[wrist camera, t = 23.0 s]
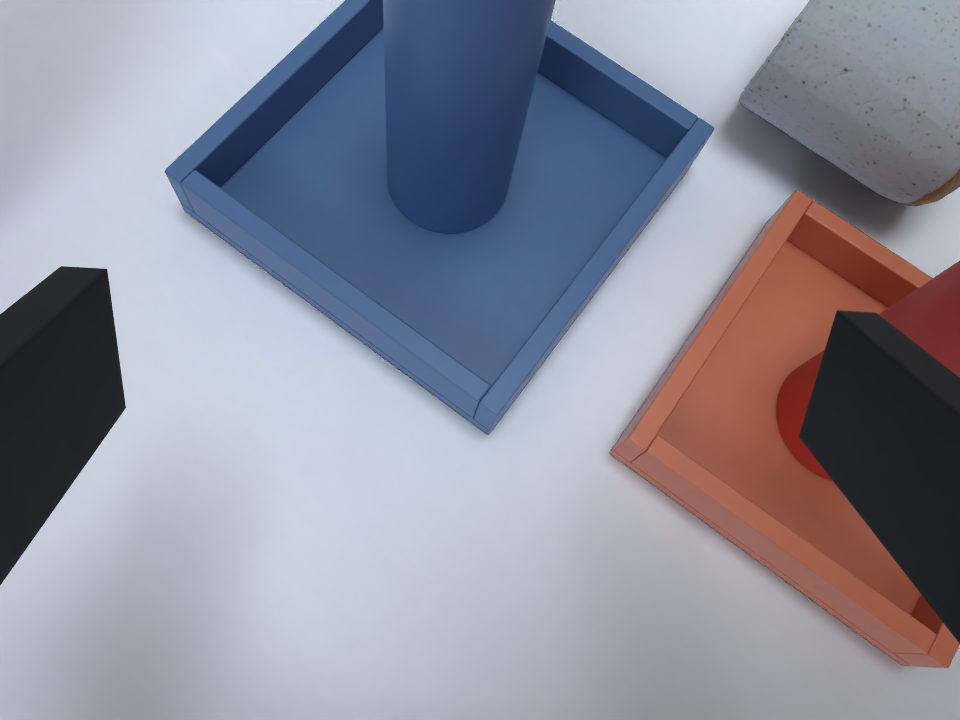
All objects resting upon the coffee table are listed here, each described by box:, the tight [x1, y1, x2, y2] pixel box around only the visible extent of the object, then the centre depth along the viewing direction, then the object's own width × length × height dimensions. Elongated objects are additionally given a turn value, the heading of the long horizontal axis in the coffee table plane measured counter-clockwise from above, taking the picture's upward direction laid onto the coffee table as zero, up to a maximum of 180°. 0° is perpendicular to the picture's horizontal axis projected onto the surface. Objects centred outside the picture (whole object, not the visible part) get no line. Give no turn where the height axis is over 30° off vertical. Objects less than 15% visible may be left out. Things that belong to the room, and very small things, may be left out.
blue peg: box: [383, 0, 555, 233], centre depth 23 cm, size 4×4×12 cm
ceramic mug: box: [739, 0, 960, 206], centre depth 29 cm, size 11×8×8 cm
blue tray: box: [165, 0, 714, 434], centre depth 28 cm, size 13×13×3 cm
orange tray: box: [610, 190, 959, 668], centre depth 27 cm, size 11×11×2 cm
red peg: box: [776, 261, 960, 480], centre depth 22 cm, size 4×4×12 cm
